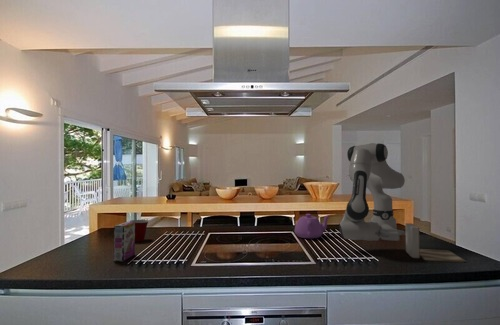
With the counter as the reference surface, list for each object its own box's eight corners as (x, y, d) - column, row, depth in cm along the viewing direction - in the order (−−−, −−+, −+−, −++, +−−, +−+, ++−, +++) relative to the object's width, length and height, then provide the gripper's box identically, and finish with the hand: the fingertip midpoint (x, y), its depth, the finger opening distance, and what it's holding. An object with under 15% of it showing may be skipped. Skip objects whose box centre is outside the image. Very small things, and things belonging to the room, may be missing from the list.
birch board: (412, 250, 144) (412, 248, 144) (448, 251, 140) (448, 250, 140) (424, 260, 128) (424, 258, 128) (465, 262, 125) (465, 260, 125)
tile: (405, 251, 142) (405, 223, 142) (412, 251, 141) (412, 223, 141) (412, 257, 132) (412, 227, 132) (419, 258, 131) (419, 227, 132)
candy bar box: (123, 262, 130) (123, 226, 130) (113, 261, 130) (113, 225, 131) (135, 254, 141) (135, 221, 141) (125, 254, 142) (125, 221, 142)
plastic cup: (152, 240, 170) (152, 219, 170) (135, 243, 161) (135, 222, 162) (142, 237, 176) (142, 218, 177) (126, 241, 168) (125, 220, 168)
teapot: (333, 241, 162) (332, 217, 162) (294, 240, 165) (294, 216, 165) (328, 233, 183) (328, 211, 184) (294, 232, 187) (294, 211, 187)
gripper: (378, 229, 131) (411, 230, 127) (369, 221, 150) (398, 222, 147) (378, 243, 130) (411, 244, 127) (370, 233, 150) (398, 234, 147)
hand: (404, 232), depth 138 cm, fingers closed
